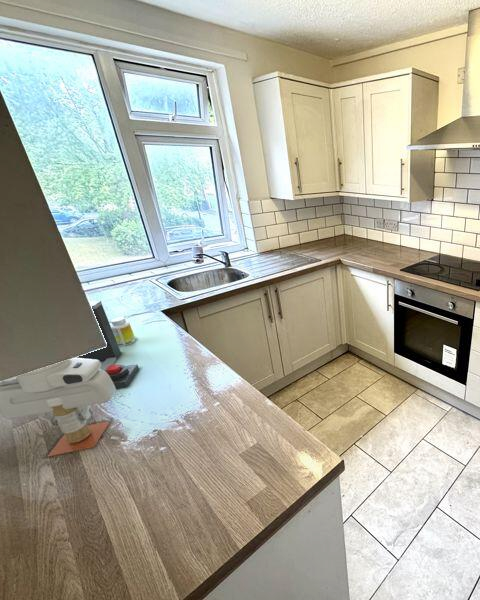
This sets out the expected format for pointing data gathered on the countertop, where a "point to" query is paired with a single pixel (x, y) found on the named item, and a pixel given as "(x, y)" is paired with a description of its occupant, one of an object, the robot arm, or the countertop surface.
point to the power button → (113, 369)
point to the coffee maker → (112, 349)
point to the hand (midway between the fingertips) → (71, 421)
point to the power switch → (124, 376)
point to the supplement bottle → (122, 331)
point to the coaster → (83, 444)
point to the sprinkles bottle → (69, 421)
